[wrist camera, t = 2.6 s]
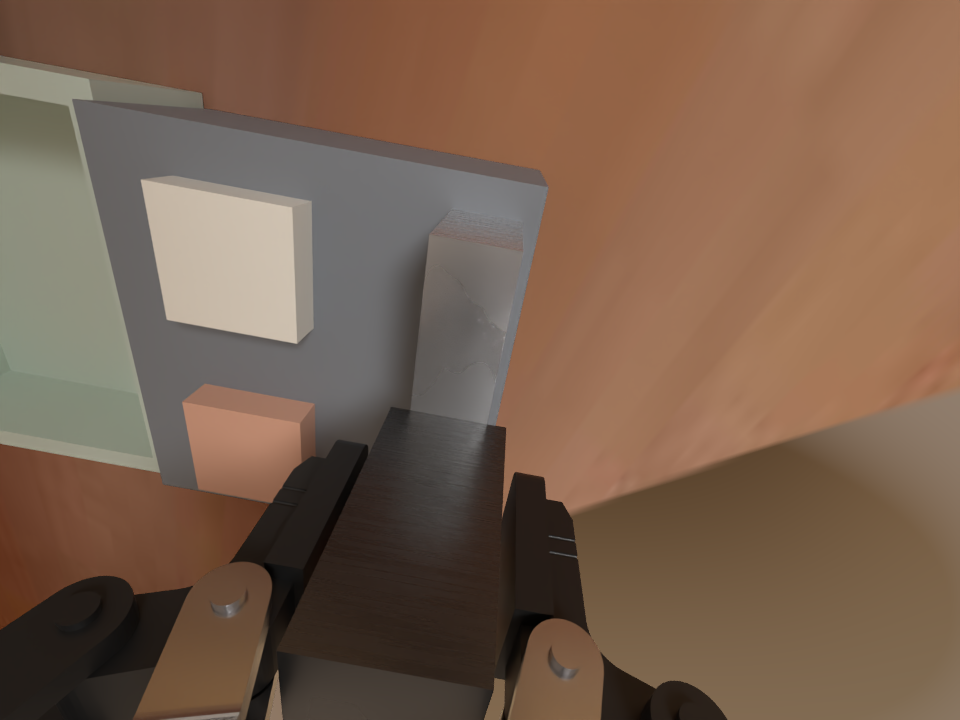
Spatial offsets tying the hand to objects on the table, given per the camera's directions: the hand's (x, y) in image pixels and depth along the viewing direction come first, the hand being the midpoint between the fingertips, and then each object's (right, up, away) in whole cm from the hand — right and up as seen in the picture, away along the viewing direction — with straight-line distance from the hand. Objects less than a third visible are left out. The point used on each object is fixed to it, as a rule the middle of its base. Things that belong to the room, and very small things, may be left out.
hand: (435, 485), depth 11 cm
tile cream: (-6, +6, +2) cm, 9 cm away
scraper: (0, +2, +4) cm, 4 cm away
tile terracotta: (-7, 0, +6) cm, 9 cm away
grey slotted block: (-4, +6, +9) cm, 12 cm away
